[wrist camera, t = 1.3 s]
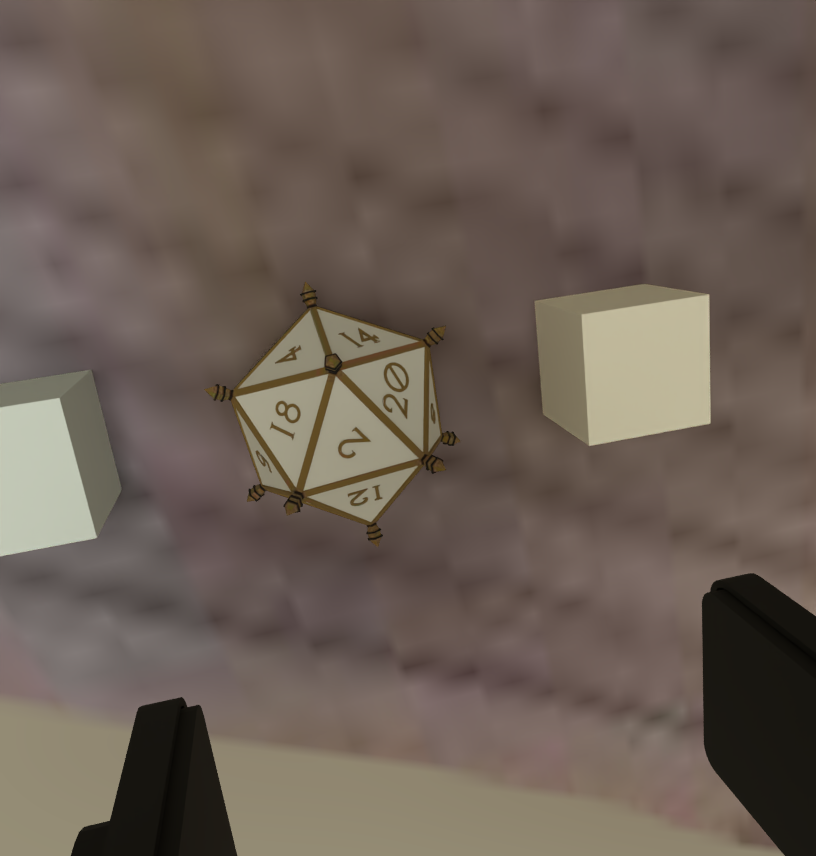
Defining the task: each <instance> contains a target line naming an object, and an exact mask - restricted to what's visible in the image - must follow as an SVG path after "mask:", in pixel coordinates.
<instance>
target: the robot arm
mask: <svg viewBox="0 0 816 856" xmlns="http://www.w3.org/2000/svg"><path fill="white" fill-rule="evenodd" d="M702 634H703V708H704V747H705V751H706V755H707V757H708V760H709V762H710V764H711V766H712V768H713V769H714V770H715V772H716V773H717V774H718V775H719V777H720V778H721V779H722V780H723V782H724V783H725V784H726V785H727V786H728V788H729V789H730V790H731V791H732V792H733V794H734V795H735V796H736V797H737V798H738V800H739V801H740V802H741V803H742V804H743V806H744V807H745V808H746V809H747V811H748V812H749V813H750V814H751V815H752V817H753V818H754V819H755V820H756V821H757V823H758V824H759V825H760V826H761V827H762V829H763V830H764V831H765V832H766V834H767V835H768V836H769V837H770V838H771V840H772V841H773V842H774V843H775V844H776V846H777V847H778V848H779V849H780V850H781V852H782V853H783V854H784V855H785V856H816V616H815V615H813V614H812V613H810V612H809V611H808V610H806V609H805V608H803V607H802V606H801V605H799V604H798V603H796V602H795V601H794V600H792V599H791V598H789V597H788V596H786V595H785V594H784V593H782V592H781V591H779V590H778V589H777V588H775V587H774V586H772V585H771V584H770V583H768V582H767V581H765V580H764V579H763V578H761V577H760V576H758V575H756V574H754V573H750V574H744V575H740V576H735V577H731V578H726V579H721V580H717V581H715V582H714V583H713V584H712V587H711V591H710V592H709V593H706V594H705V595H704V597H703V600H702ZM71 856H237V853H236V849H235V845H234V840H233V836H232V832H231V828H230V824H229V819H228V815H227V812H226V807H225V803H224V799H223V794H222V790H221V786H220V782H219V778H218V773H217V769H216V765H215V761H214V757H213V752H212V748H211V744H210V740H209V736H208V731H207V727H206V723H205V719H204V715H203V711H202V708H201V706H200V705H196V706H191V707H187V705H186V702H185V700H184V699H183V698H182V697H181V698H176V699H171V700H167V701H162V702H158V703H153V704H148V705H144V706H141V707H139V708H138V711H137V714H136V718H135V722H134V726H133V730H132V734H131V738H130V743H129V746H128V751H127V754H126V758H125V762H124V766H123V770H122V774H121V779H120V783H119V787H118V791H117V795H116V799H115V803H114V807H113V811H112V815H111V819H110V821H107V822H103V823H99V824H95V825H90V826H87V827H84V828H83V829H82V830H81V831H80V832H79V834H78V836H77V839H76V841H75V844H74V847H73V850H72V854H71Z"/></svg>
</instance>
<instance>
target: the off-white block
mask: <svg viewBox="0 0 816 856" xmlns="http://www.w3.org/2000/svg"><path fill="white" fill-rule="evenodd" d="M534 302H535V315H536V329H537V342H538V355H539V368H540V381H541V394H542V407H543V415H545V416H546V417H548V418H549V419H551V420H552V421H553V422H555V423H556V424H558V425H559V426H561V427H562V428H564V429H565V430H567V431H568V432H570V433H571V434H573V435H574V436H575V437H577V438H578V439H580V440H581V441H583V442H584V443H586V444H587V445H589V446H592V445H597V444H602V443H608V442H613V441H619V440H624V439H629V438H635V437H640V436H646V435H651V434H657V433H662V432H667V431H673V430H678V429H684V428H689V427H694V426H700V425H705V424H711V423H710V326H709V294H704V293H697V292H691V291H685V290H679V289H673V288H667V287H661V286H655V285H649V284H641V285H634V286H628V287H621V288H615V289H608V290H602V291H595V292H589V293H582V294H576V295H569V296H563V297H556V298H550V299H543V300H537V301H534Z"/></svg>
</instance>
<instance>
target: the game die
mask: <svg viewBox="0 0 816 856" xmlns="http://www.w3.org/2000/svg"><path fill="white" fill-rule="evenodd" d="M315 292H316V290H313V289H312V288H311V287H310V286H309V285H308V284H307V283H306V282H305V284H304V288H303V291H302V294H300V295H301V296H302V297H303V302H305V304H306V305H307V310H306V311H305V312H304V313H303V314H302V315H301V316H300V317H299V318H298V319H297V321H296V322H295V323H294V324H293V325H292V326H291V327H290V328H289V329H288V330H287V331H286V332H285V334H284V335H283V336H282V337H281V338H280V339H279V340H278V341H277V342H276V343H275V344H274V346H273V347H272V348H271V349H270V350H269V351H268V352H267V353H266V354H265V355H264V356H263V357H262V359H261V360H260V361H259V362H258V363H257V364H256V365H255V366H254V367H253V368H252V369H251V371H250V372H249V373H248V374H247V375H246V376H245V377H244V378H243V379H242V380H241V381H240V382H239V384H238V385H237V386H236V387H235V388H234V389H233V390H229V389H227V388H226V386H223V387H221V386H219V384H217V385H216V386H214V387H211V388H207V389H204V390H205V391H206V392H207V393H208V394H209V395H211V396H212V397H213V398H214V401H215V400H216V399H218V400H221V402H223V400H230V401H231V402H232V405H233V408H234V411H235V414H236V417H237V419H238V422H239V425H240V428H241V431H242V433H243V436H244V439H245V442H246V445H247V448H248V450H249V453H250V456H251V459H252V462H253V464H254V467H255V470H256V473H257V476H258V479H259V481H260V484H259V485H257V486H255V485H254V486H253V488H252V489H249V495H248V499H247V502H248V501H256V502H257V501H258V500H259V499H260V497H262V496H263V495H264V492H265V491H269V492H272V493H275V494H278V495H281V496H284V497H287V498H288V500H287V501H286V503H285V504H284V507H285V509H286V514H287V515H290V514H292V513H296V512H300V507H302V506H303V504H302V503H304V504H307V505H310V506H313V507H316V508H319V509H322V510H324V511H327V512H330V513H333V514H336V515H339V516H342V517H345V518H348V519H350V520H353V521H356V522H359V523H362V524H365V525H367V527H368V531H367V534H368V536H369V538H368V540H370V541H371V542H372V543H374V544H375V545H376V546H377V547H378V546H379V543H380V539H381V537H382V536H383V535H382V534H381V533H380V530H381V529H380V528H378V526H377V525H376V522H377V521H378V520H379V518H380V517H381V516H382V515H383V514H384V513H385V511H386V510H387V509H388V508H389V507H390V505H391V504H392V503H393V502H394V501H395V499H396V498H397V497H398V496H399V495H400V493H401V492H402V491H403V490H404V489H405V487H406V486H407V485H408V484H409V483H410V481H411V480H412V479H413V478H414V477H415V475H416V474H417V473H418V472H419V471H420V470H421V468H422V467H423V466H424V465H425V466H426V469H427V470H431V472H432V474H433V473H436V472H438V471H443V470H446V469H445V467H444V465H443V460H442V459H440V458H438V457H435V456H433V455H432V453H433V452H434V450H435V449H436V447H437V446H438V444H439V443H440V441H441V442H443V444H448V445H449V446H454V444H456V443H458V442H460V440H459V439H458V438H457V437H456V436H455V434H454V432H452V433H449V432H448V431H447V432H445V433H442V430H441V423H440V416H439V409H438V402H437V395H436V388H435V381H434V375H433V368H432V361H431V354H430V346H431V345H434V344H438V342H439V341H440V340H444V339H443V335H444V331H445V328H446V326H443V327H439V328H432V331H431V332H428V333H427V336H426V338H425V339H424V340H423V339H419V338H416V337H413V336H410V335H407V334H403V333H400V332H397V331H394V330H391V329H387V328H384V327H381V326H378V325H375V324H372V323H368V322H365V321H362V320H359V319H356V318H352V317H349V316H346V315H343V314H340V313H336V312H333V311H330V310H327V309H324V308H321V307H317V305H316V299H318V298H317V297H316V295H315Z"/></svg>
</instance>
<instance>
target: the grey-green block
mask: <svg viewBox="0 0 816 856" xmlns="http://www.w3.org/2000/svg"><path fill="white" fill-rule="evenodd" d="M121 490H122V488H121V484H120V480H119V477H118V473H117V469H116V465H115V461H114V457H113V453H112V449H111V445H110V441H109V437H108V433H107V429H106V425H105V421H104V417H103V413H102V409H101V405H100V401H99V397H98V393H97V390H96V386H95V382H94V378H93V374H92V370H86V371H80V372H74V373H67V374H61V375H54V376H48V377H42V378H35V379H29V380H22V381H16V382H10V383H3V384H0V556H4V555H9V554H14V553H20V552H25V551H30V550H36V549H41V548H46V547H52V546H57V545H62V544H68V543H73V542H78V541H84V540H89V539H94V538H97V537H98V535H99V533H100V531H101V529H102V527H103V525H104V523H105V521H106V519H107V517H108V516H109V514H110V512H111V510H112V508H113V506H114V504H115V502H116V500H117V498H118V496H119V494H120V492H121Z"/></svg>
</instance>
